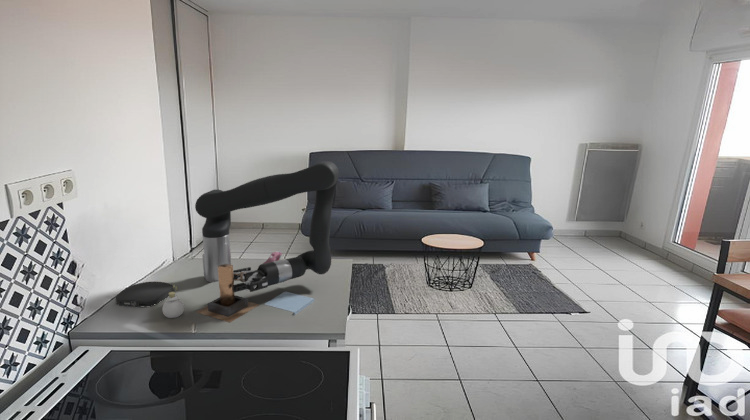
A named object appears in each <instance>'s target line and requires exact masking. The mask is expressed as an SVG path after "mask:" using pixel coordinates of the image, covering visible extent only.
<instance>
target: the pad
mask: <svg viewBox="0 0 750 420" xmlns="http://www.w3.org/2000/svg"><path fill="white" fill-rule="evenodd" d="M314 302H315V298H313V297H310V296H305V295H302V294H298V293H293V292H290V291H283V292H282V293H281V294H279V295H277V296H275V297H273V298H272V299H270V300H269V301H266V302H265V303H264V305H266V306H268V307H272V308H273V307H274V308H277V309H280V310H284V311H289V312H292V314H291V315H292V316H296V315H298V313H301V311H303V310H304V309H306V308H307V307H308V306H310V305H312V303H314Z"/></svg>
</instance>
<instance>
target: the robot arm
mask: <svg viewBox="0 0 750 420" xmlns="http://www.w3.org/2000/svg"><path fill="white" fill-rule="evenodd" d="M339 176H340V172H339V168H338V167H337V165H336V164H335V163H334V162H332V161H330V160H329V161H328V160H324V161H320V162H318V163H316V164H313V165H311V166H309V167H305V168H304V169H301V170H298V171H295V172H290V173H279V174H273V175H267V176H264V177H260V178H256V179H253V180H250V181H248V182H245V183H242V184H241V185H239V186H236V187H233V188H231V189H228V190H222V189H212V190H210V191H207V192H204V193H203V194H201V195H199V197H198V198H197V199H196V201H195V205H194V207H195V208H194V209H195V211H196V214H198V215H199V216H200V217H202V218H205V221H204V222H205V223H204V224H203V226H202V228H201V233H202V244H203V254H202V267H203V278H204V279H205V280H206V281H207V282H208V283H210V284H211V283H213V282H219V277H218V266H220V265H223V264H231V265H233V264H232V252H231V251H232V250H231V238H230V237H231V236H230V229H231V228H230V227H231V223H232V219H231V216H232V215H231V212H233V211H237V210H242V209H247V208H250V209H251V208H253V207H258V206H259V207H260V206H263V205H268V204H271V203H277V202H279V201H282V200H283V201H284V200H286V199H288V198H290V197H293V196H295V195H299V194H302V193H308V192H309V193H310V192H315V200H314V207H313V211H312V215H311V220H310V226H309V227H310V228H309V238H308V239H309V240H308V241H309V245H310V246H311V247H312V249H313V250H312V249H311V250H307V251H304V252H303V253H301V254H299V255H297V256H295V257H291V258H290V257H289V258H285V259H279V260H278V261H273V262H269V263H265V264H263V263H260V264H259V265H258V268H257V269H252V267H250V266H249V267H244V268H239V269H233V275H234V282H235V281H236V282H238V281H240V283H236V284H235V283H234V285H233V286H232V291H233V292H235V293H239V292H241V291H249V292H250V293H253V292H256V291H259V290H263V289H266V288H268V287H270V286H274V285H278V284H281V283H284V282H285V283H286V281H290V280H293V279H294V280H295V279H296V278H300V277H302V276H304V275H305V274H306V271H307V270H311V271H312V272H313V273H316V274H317V275H325V274H326V273H328V272H329V270H330V268H331V265H332V253H331V247H330V235H331V223H332V221H331V220H332V212H333V211H332V210H333V201H334V196H335V191H336V188H337V184H338V180H339V178H340V177H339Z"/></svg>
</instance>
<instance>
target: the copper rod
mask: <svg viewBox="0 0 750 420" xmlns="http://www.w3.org/2000/svg"><path fill="white" fill-rule="evenodd" d="M233 271H234V265H233V264H232V265H231V264H223V265H220V266H218V277H219V281H218V287H219V288H218V289H219V297H220V303H221V305H223V306H226V307H229V306H231V305H232V304H234V303H235V295H236V292H233V291H232V286H233V285H235V281H234V275H233Z"/></svg>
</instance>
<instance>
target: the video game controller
mask: <svg viewBox="0 0 750 420" xmlns="http://www.w3.org/2000/svg"><path fill="white" fill-rule="evenodd" d="M282 256H283V253H282V252H281V251H279V250H278V251H277V250H276V251H274V252H271V254H270V256H269V257H268V258H267V259H266V261H264V262H263V263H262V264H265V263H269V262H273V261H278V260H281V257H282Z"/></svg>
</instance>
